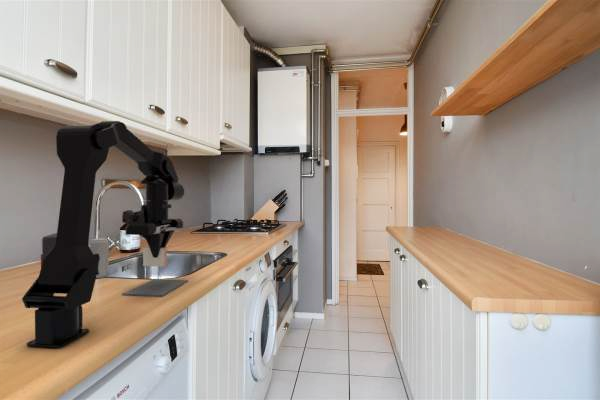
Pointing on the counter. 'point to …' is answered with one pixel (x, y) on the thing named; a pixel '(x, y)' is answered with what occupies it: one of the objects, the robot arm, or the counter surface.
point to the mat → (155, 288)
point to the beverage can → (101, 255)
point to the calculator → (47, 245)
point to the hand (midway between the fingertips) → (157, 256)
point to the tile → (151, 261)
